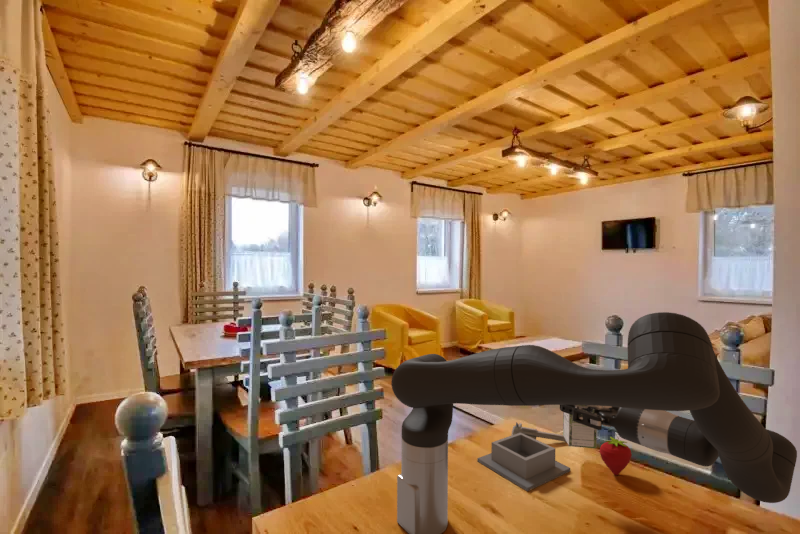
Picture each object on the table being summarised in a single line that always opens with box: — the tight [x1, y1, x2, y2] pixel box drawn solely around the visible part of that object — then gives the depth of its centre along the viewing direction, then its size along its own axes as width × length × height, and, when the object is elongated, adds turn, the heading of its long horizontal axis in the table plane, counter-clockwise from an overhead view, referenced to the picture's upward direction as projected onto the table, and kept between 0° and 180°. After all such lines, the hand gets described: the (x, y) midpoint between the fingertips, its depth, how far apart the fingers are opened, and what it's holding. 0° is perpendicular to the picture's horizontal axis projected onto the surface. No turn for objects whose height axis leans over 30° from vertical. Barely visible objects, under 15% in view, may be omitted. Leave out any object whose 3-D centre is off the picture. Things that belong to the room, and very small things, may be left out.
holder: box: [476, 432, 571, 492], centre depth 102 cm, size 16×16×5 cm
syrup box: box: [562, 405, 598, 449], centre depth 88 cm, size 6×6×14 cm
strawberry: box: [599, 432, 632, 476], centre depth 98 cm, size 6×8×10 cm
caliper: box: [511, 422, 567, 443], centre depth 115 cm, size 20×1×6 cm, turn 94°
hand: (572, 401), depth 90 cm, fingers closed on syrup box, 8 cm apart
